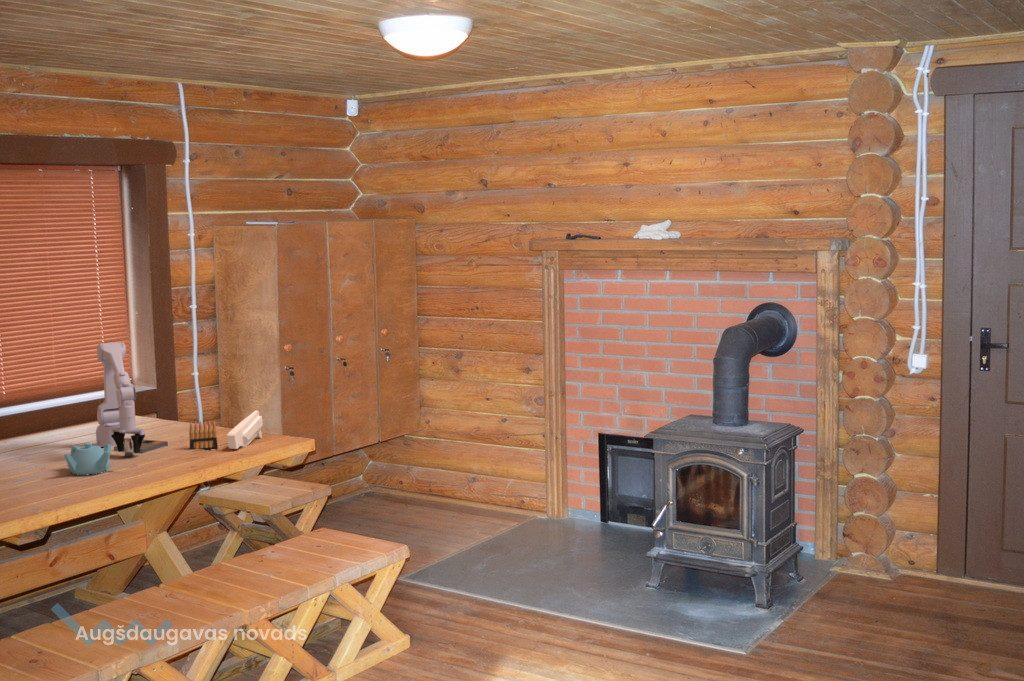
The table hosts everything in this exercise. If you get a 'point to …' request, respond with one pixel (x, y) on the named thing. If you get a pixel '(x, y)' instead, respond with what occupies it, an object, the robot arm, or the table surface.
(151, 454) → the table surface
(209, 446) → the ammunition clip
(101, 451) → the teapot
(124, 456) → the tab
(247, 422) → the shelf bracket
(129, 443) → the steel peg
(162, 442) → the plate
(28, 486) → the table surface
